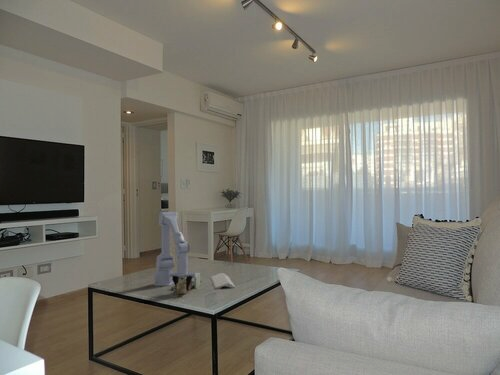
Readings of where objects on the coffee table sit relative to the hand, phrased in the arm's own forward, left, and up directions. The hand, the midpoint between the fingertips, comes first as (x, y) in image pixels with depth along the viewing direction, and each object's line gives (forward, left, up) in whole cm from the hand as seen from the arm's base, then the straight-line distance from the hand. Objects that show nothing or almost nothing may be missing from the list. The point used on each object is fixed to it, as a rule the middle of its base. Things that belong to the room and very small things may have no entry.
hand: (182, 290), depth 192 cm
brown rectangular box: (0, +4, -2) cm, 4 cm away
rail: (0, +7, -2) cm, 7 cm away
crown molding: (+17, +25, -2) cm, 31 cm away
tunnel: (0, +15, -2) cm, 15 cm away
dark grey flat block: (0, +24, -2) cm, 24 cm away
